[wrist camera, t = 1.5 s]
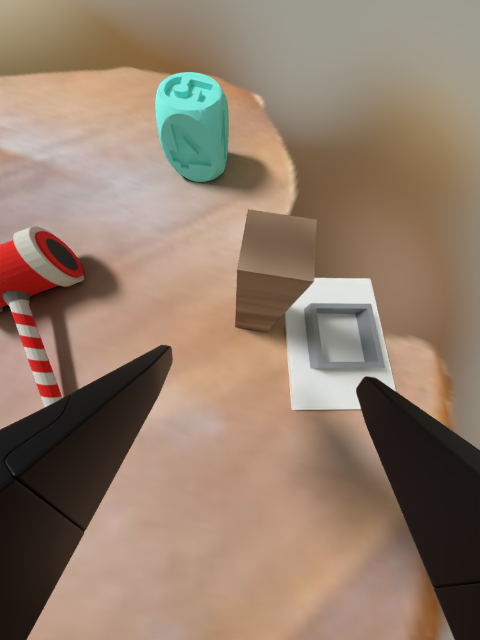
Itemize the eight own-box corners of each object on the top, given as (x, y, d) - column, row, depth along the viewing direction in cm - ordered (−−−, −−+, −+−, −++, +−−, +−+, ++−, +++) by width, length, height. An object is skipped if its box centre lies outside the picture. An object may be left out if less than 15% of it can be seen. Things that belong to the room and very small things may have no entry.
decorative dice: (220, 186, 27) (215, 116, 20) (171, 178, 28) (147, 105, 20) (229, 152, 30) (228, 76, 22) (183, 145, 30) (166, 67, 22)
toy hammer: (133, 411, 19) (85, 432, 13) (17, 473, 17) (-104, 532, 11) (79, 251, 24) (26, 211, 18) (-14, 286, 22) (-110, 254, 16)
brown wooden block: (266, 331, 21) (314, 281, 9) (235, 326, 21) (237, 269, 9) (270, 302, 22) (316, 219, 10) (240, 297, 22) (248, 209, 10)
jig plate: (395, 407, 19) (418, 413, 17) (291, 408, 19) (299, 414, 17) (367, 280, 24) (382, 270, 21) (281, 279, 23) (287, 269, 21)
